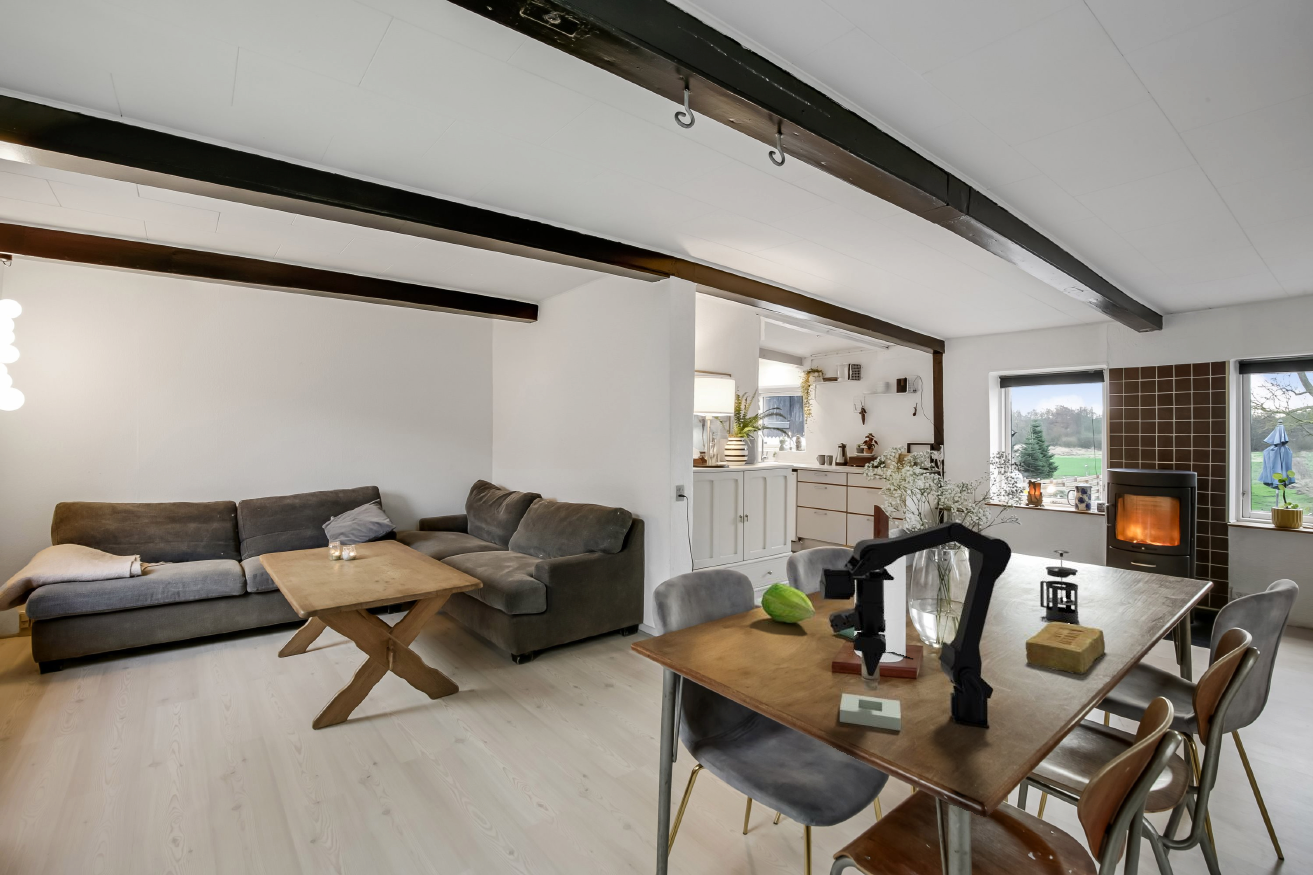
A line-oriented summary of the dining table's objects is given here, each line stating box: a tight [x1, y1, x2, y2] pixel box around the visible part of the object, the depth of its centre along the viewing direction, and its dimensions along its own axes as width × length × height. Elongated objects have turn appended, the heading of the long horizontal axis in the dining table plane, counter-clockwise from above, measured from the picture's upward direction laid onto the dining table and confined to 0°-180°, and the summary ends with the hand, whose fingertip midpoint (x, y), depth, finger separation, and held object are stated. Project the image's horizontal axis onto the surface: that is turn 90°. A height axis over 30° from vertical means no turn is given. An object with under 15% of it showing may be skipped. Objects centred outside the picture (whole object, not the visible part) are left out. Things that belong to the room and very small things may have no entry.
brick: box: [1025, 621, 1106, 674], centre depth 169 cm, size 13×26×7 cm, turn 134°
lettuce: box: [760, 582, 816, 623], centre depth 200 cm, size 14×20×12 cm
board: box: [839, 693, 902, 732], centre depth 132 cm, size 12×9×2 cm
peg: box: [861, 652, 881, 692], centre depth 132 cm, size 4×4×9 cm
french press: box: [1039, 549, 1080, 624], centre depth 204 cm, size 12×9×23 cm
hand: (870, 672), depth 132 cm, fingers closed on peg, 4 cm apart
